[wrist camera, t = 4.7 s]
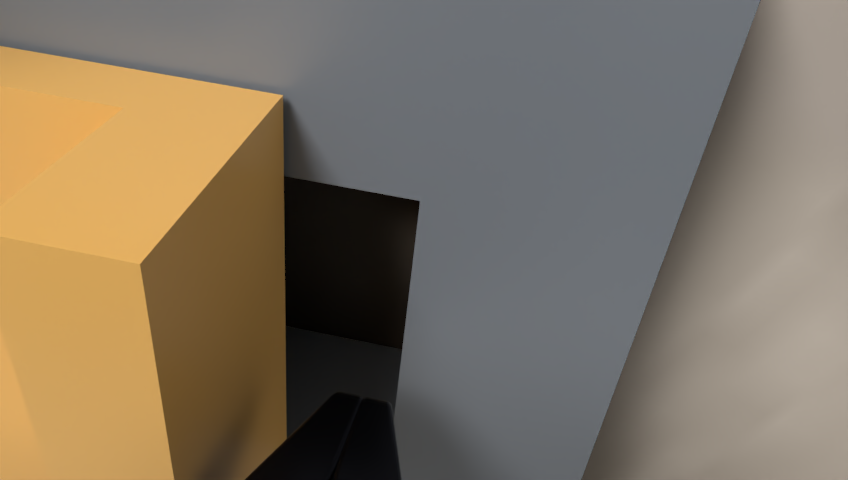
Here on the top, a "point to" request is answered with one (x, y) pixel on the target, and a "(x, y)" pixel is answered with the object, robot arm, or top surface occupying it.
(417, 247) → the socket plate
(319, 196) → the top surface
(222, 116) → the orange block
